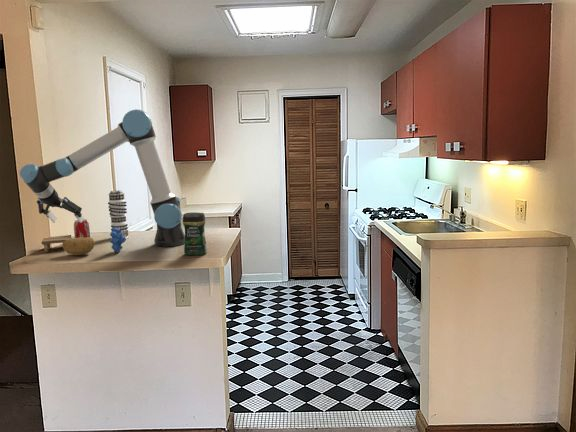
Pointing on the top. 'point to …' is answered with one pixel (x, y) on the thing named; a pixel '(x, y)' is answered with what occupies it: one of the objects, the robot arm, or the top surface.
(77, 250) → the potato
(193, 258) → the top surface
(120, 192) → the decorative candle
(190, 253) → the coffee jar
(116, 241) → the grapes
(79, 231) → the soda can
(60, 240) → the shelf stand
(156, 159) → the robot arm
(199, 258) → the top surface
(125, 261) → the top surface
